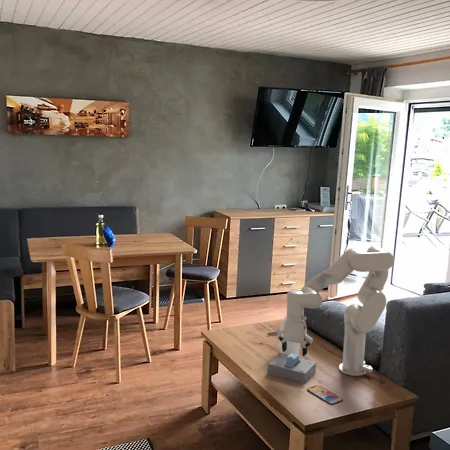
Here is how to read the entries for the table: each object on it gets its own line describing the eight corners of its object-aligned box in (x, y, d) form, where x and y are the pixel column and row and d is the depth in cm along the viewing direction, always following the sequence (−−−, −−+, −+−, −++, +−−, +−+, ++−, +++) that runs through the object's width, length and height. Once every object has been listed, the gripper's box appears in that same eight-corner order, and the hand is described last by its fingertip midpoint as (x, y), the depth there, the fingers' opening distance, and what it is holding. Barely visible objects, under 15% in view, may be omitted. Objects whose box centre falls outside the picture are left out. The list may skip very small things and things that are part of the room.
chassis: (315, 371, 240) (316, 361, 239) (304, 383, 228) (305, 373, 227) (280, 362, 249) (280, 352, 248) (267, 373, 237) (268, 363, 236)
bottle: (293, 361, 251) (296, 311, 246) (274, 355, 257) (276, 306, 253) (304, 354, 259) (307, 305, 255) (285, 348, 266) (287, 300, 262)
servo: (300, 369, 241) (300, 352, 240) (292, 376, 234) (293, 359, 232) (292, 367, 243) (292, 350, 242) (284, 374, 236) (284, 357, 234)
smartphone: (331, 404, 210) (306, 388, 222) (331, 406, 210) (305, 390, 223) (344, 399, 214) (318, 384, 227) (343, 401, 214) (318, 386, 227)
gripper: (316, 318, 233) (315, 353, 236) (280, 311, 242) (280, 346, 245) (310, 323, 227) (309, 360, 230) (274, 316, 235) (273, 352, 238)
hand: (294, 353), depth 237 cm, fingers open, 9 cm apart
